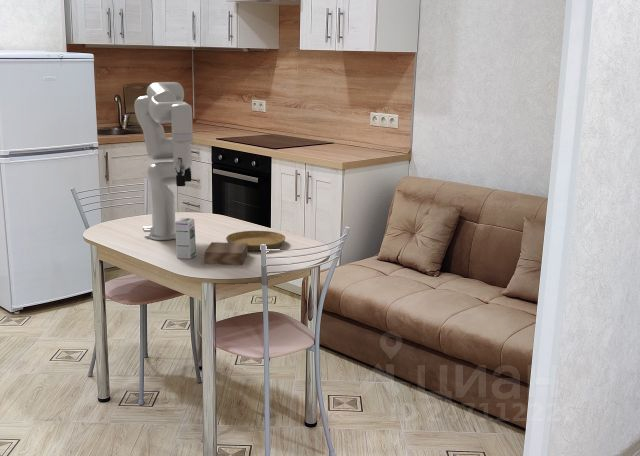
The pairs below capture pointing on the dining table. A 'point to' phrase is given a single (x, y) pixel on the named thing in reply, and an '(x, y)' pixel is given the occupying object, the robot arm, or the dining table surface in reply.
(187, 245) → the syrup box
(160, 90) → the robot arm
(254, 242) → the plant saucer
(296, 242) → the dining table surface
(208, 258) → the walnut block
